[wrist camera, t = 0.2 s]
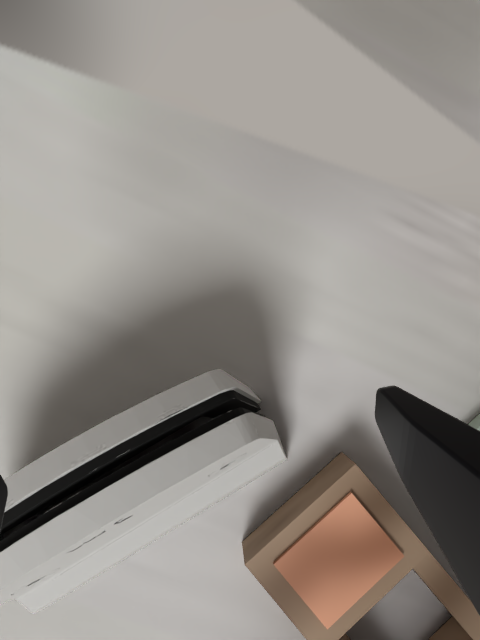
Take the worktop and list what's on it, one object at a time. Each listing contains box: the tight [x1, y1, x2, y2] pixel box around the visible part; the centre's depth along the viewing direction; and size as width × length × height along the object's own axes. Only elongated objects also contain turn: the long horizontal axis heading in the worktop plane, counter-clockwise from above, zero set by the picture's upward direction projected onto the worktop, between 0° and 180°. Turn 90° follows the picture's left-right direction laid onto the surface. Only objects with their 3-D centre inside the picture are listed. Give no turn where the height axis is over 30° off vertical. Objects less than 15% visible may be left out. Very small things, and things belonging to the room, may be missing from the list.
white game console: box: [0, 369, 287, 614], centre depth 20 cm, size 17×5×10 cm, turn 120°
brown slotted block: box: [242, 452, 480, 640], centre depth 22 cm, size 16×8×3 cm, turn 40°
